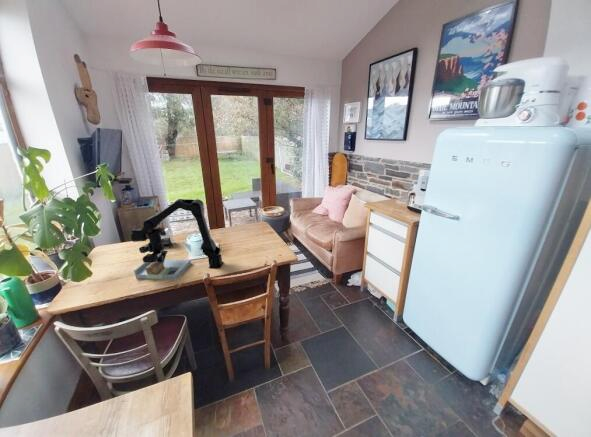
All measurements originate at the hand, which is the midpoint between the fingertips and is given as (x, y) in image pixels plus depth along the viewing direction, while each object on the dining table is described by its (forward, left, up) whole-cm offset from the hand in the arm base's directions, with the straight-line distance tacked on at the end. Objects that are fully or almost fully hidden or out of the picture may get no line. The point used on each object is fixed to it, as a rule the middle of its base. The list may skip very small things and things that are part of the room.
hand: (161, 264), depth 135 cm
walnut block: (+1, +5, -1) cm, 5 cm away
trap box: (-2, 0, -4) cm, 4 cm away
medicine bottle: (+15, -30, -4) cm, 34 cm away
